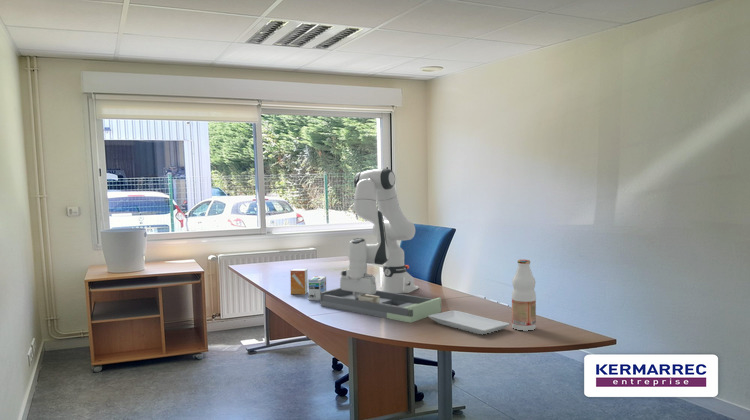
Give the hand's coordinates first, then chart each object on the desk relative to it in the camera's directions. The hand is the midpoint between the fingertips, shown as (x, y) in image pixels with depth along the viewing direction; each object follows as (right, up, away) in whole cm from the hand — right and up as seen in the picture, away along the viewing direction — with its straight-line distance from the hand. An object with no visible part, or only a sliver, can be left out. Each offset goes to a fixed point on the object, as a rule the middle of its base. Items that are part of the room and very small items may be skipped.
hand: (358, 301), depth 266 cm
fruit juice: (+68, -5, -39) cm, 79 cm away
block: (+5, -1, -4) cm, 7 cm away
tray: (+46, -5, -34) cm, 58 cm away
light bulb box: (-22, -2, +23) cm, 32 cm away
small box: (-33, -2, +36) cm, 49 cm away
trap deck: (+10, -3, -1) cm, 10 cm away
